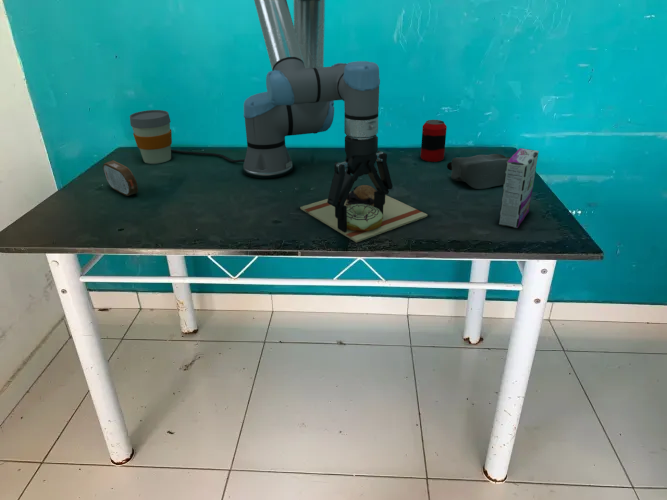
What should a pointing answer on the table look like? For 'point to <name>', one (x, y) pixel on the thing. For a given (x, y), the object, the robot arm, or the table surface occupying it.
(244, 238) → the table surface
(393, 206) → the towel
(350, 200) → the bread roll
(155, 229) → the table surface
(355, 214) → the decorated donut
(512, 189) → the candy bar box
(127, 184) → the tin
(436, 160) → the soda can
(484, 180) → the gray bottle
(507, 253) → the table surface
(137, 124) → the reusable coffee cup
